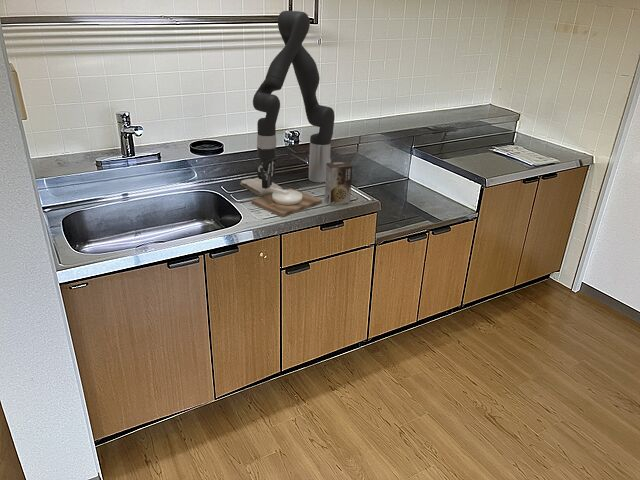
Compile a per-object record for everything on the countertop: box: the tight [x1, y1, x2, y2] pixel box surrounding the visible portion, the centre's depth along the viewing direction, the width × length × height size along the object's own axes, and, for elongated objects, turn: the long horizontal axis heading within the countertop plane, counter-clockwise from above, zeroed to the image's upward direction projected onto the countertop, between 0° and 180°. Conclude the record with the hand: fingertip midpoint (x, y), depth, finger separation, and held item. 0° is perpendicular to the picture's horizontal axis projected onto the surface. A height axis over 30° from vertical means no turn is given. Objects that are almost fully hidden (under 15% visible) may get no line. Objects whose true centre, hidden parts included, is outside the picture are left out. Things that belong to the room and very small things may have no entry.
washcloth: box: [239, 177, 284, 197], centre depth 224 cm, size 12×18×3 cm, turn 39°
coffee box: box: [324, 161, 353, 206], centre depth 211 cm, size 9×6×16 cm
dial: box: [263, 174, 302, 205], centre depth 208 cm, size 18×12×8 cm
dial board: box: [250, 187, 323, 218], centre depth 209 cm, size 22×18×2 cm
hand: (266, 186), depth 212 cm, fingers closed on dial, 3 cm apart
